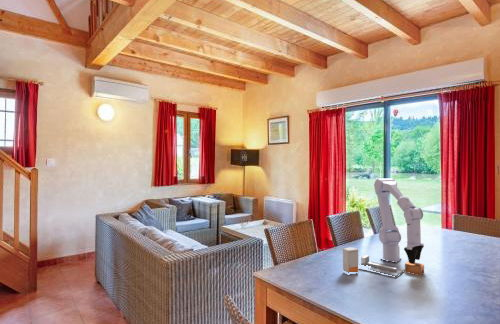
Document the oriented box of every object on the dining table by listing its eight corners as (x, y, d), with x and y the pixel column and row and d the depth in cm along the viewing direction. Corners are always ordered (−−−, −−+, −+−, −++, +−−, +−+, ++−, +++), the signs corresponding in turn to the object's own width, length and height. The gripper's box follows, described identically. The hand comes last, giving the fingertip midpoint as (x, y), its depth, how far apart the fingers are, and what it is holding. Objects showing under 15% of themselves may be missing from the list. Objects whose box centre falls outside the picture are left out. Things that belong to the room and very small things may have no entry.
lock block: (405, 272, 144) (404, 263, 144) (408, 269, 147) (408, 261, 147) (421, 275, 139) (421, 266, 139) (424, 273, 143) (423, 264, 142)
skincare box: (347, 275, 141) (347, 250, 141) (342, 272, 145) (342, 248, 145) (359, 274, 143) (358, 249, 143) (353, 271, 147) (353, 246, 147)
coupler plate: (366, 262, 159) (366, 253, 159) (404, 271, 145) (404, 260, 145) (356, 268, 150) (356, 258, 150) (396, 278, 137) (395, 267, 137)
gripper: (418, 237, 135) (419, 267, 135) (427, 231, 146) (428, 259, 146) (401, 234, 140) (402, 263, 140) (411, 229, 151) (412, 256, 151)
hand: (414, 261), depth 143 cm, fingers open, 7 cm apart
